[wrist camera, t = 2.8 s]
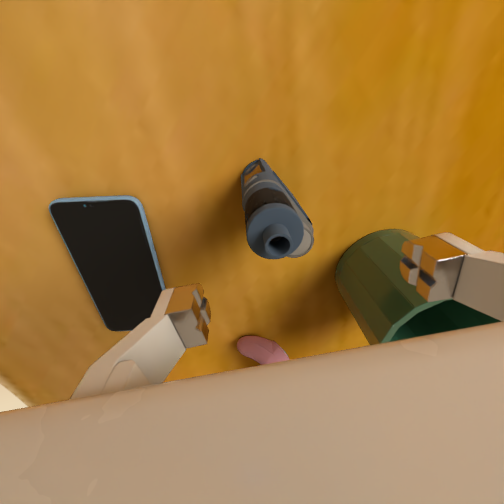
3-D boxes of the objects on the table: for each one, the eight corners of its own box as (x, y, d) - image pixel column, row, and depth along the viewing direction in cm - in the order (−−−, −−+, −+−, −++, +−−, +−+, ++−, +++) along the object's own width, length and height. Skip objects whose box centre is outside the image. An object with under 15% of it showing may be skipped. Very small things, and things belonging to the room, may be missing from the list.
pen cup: (333, 239, 23) (384, 306, 15) (431, 219, 22) (537, 277, 14) (336, 309, 27) (375, 386, 19) (417, 293, 27) (490, 367, 19)
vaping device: (258, 149, 18) (287, 198, 8) (297, 200, 20) (359, 289, 10) (233, 172, 19) (230, 244, 9) (273, 218, 21) (308, 319, 11)
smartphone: (107, 333, 26) (40, 201, 18) (111, 327, 27) (48, 197, 19) (175, 329, 26) (137, 196, 18) (177, 323, 27) (141, 193, 19)
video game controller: (288, 360, 34) (322, 399, 28) (263, 382, 33) (294, 428, 27) (261, 316, 29) (296, 352, 23) (231, 340, 28) (259, 384, 22)
